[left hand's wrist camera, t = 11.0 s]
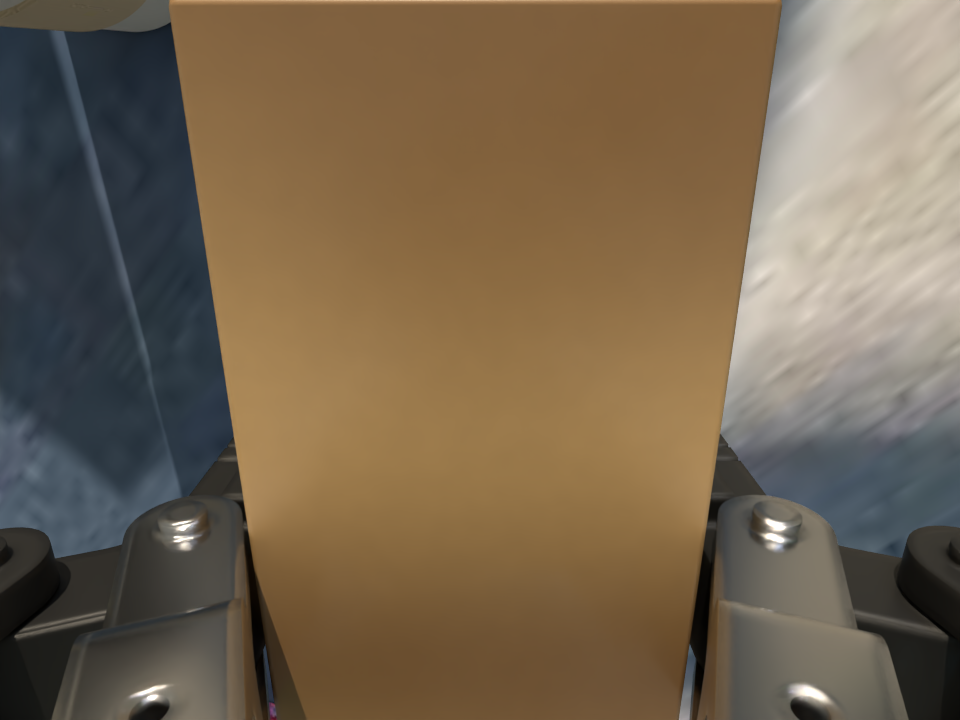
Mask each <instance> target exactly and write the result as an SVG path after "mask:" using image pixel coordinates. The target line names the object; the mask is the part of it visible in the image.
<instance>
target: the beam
mask: <svg viewBox="0 0 960 720" xmlns="http://www.w3.org/2000/svg"><path fill="white" fill-rule="evenodd" d="M781 9H782V3H781V0H170V1H169V12H170V19H171V25H172V32H173V38H174V45H175V52H176V58H177V65H178V71H179V78H180V84H181V91H182V98H183V104H184V111H185V117H186V124H187V131H188V137H189V144H190V150H191V157H192V163H193V170H194V177H195V183H196V190H197V196H198V203H199V209H200V216H201V223H202V229H203V236H204V242H205V249H206V256H207V262H208V269H209V275H210V282H211V288H212V295H213V302H214V308H215V315H216V321H217V328H218V334H219V341H220V348H221V354H222V361H223V367H224V374H225V381H226V387H227V394H228V400H229V407H230V413H231V420H232V427H233V433H234V440H235V446H236V453H237V459H238V466H239V473H240V479H241V486H242V492H243V499H244V506H245V512H246V519H247V525H248V532H249V538H250V545H251V552H252V558H253V565H254V571H255V578H256V584H257V591H258V598H259V604H260V611H261V617H262V624H263V631H264V637H265V644H266V650H267V657H268V663H269V670H270V677H271V683H272V690H273V696H274V703H275V709H276V716H277V720H679V713H680V706H681V699H682V692H683V685H684V678H685V671H686V664H687V657H688V651H689V644H690V637H691V630H692V623H693V616H694V609H695V602H696V595H697V588H698V582H699V575H700V568H701V561H702V554H703V547H704V540H705V533H706V526H707V519H708V513H709V506H710V499H711V492H712V485H713V478H714V471H715V464H716V457H717V450H718V444H719V437H720V430H721V423H722V416H723V409H724V402H725V395H726V388H727V381H728V375H729V368H730V361H731V354H732V347H733V340H734V333H735V326H736V319H737V312H738V305H739V299H740V292H741V285H742V278H743V271H744V264H745V257H746V250H747V243H748V236H749V230H750V223H751V216H752V209H753V202H754V195H755V188H756V181H757V174H758V167H759V161H760V154H761V147H762V140H763V133H764V126H765V119H766V112H767V105H768V98H769V92H770V85H771V78H772V71H773V64H774V57H775V50H776V43H777V36H778V29H779V23H780V16H781Z"/></svg>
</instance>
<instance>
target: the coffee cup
mask: <svg viewBox="0 0 960 720" xmlns="http://www.w3.org/2000/svg"><path fill="white" fill-rule="evenodd" d="M169 1H170V0H0V26H5V27H18V28H31V29H45V30H58V31H71V32H88V31H95V30H100V29H105V30H116V31H127V32H143V31H150V30H154V29H157V28H160V27H162V26H164V25H166V24H168V23H170V22H171V19H170V12H169Z"/></svg>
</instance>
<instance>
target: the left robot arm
mask: <svg viewBox="0 0 960 720" xmlns="http://www.w3.org/2000/svg"><path fill="white" fill-rule="evenodd" d="M690 645H691V648H692V650H693V653H694V655H695V657H696V659H695V666H694V672H693V682H692V695H691V708H690V720H960V528H957V527H949V526H927V527H922V528H919V529H917V530H914V531H913V532H912V533H911V534H910V535H909V537H908V539H907V542H906V546H905V549H904V553H903V557H902V558H899V557H894V556H888V555H883V554H878V553H873V552H868V551H862V550H857V549H852V548H847V547H843V546H839V545H838V543H837V538H836V535H835V532H834V530H833V529H832V527H831V526H830V525H829V524H828V523H827V522H826V521H825V520H824V519H823V518H822V517H821V516H819V515H818V514H817V513H815V512H813V511H812V510H810V509H808V508H806V507H804V506H802V505H799V504H797V503H794V502H792V501H788V500H785V499H782V498H777V497H772V496H766V494H765V493H764V492H763V490H762V489H761V488H760V486H759V485H758V484H757V482H756V481H755V480H754V478H753V477H752V476H751V474H750V473H749V472H748V470H747V469H746V468H745V466H744V465H743V464H742V462H741V461H738V457H737V456H736V454H735V453H734V451H733V450H732V449H731V447H728V443H727V442H726V441H725V439H724V438H723V437H722V435H721V434H720V437H719V444H718V450H717V457H716V464H715V471H714V478H713V485H712V492H711V499H710V506H709V513H708V519H707V526H706V533H705V540H704V547H703V554H702V561H701V568H700V575H699V582H698V588H697V595H696V602H695V609H694V616H693V623H692V630H691V637H690ZM264 646H265V637H264V631H263V624H262V617H261V611H260V604H259V598H258V591H257V584H256V578H255V571H254V565H253V558H252V552H251V545H250V538H249V532H248V525H247V519H246V512H245V506H244V499H243V492H242V486H241V479H240V473H239V466H238V459H237V453H236V446H235V440H234V437H233V439H232V440H231V441H230V443H229V444H228V448H225V449H224V451H223V452H222V453H221V454H220V456H219V457H218V461H217V462H214V464H213V465H212V466H211V468H210V469H209V470H208V472H207V473H206V474H205V476H204V477H203V478H202V480H201V481H200V482H199V483H198V485H197V486H196V487H195V489H194V490H193V491H192V493H191V494H190V495H189V496H188V497H183V498H178V499H175V500H172V501H168V502H166V503H163V504H161V505H158V506H156V507H154V508H152V509H150V510H148V511H147V512H145V513H144V514H142V515H141V516H139V517H138V518H137V519H136V520H135V521H134V522H133V523H132V524H131V525H130V526H129V527H128V529H127V530H126V532H125V535H124V538H123V543H122V545H119V546H116V547H112V548H107V549H103V550H98V551H92V552H87V553H82V554H77V555H71V556H66V557H61V558H56V559H55V557H54V554H53V550H52V546H51V543H50V540H49V538H48V536H47V535H46V534H45V533H43V532H41V531H39V530H36V529H32V528H6V529H0V720H270V707H269V695H268V682H267V672H266V666H265V659H264V653H263V649H264Z"/></svg>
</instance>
